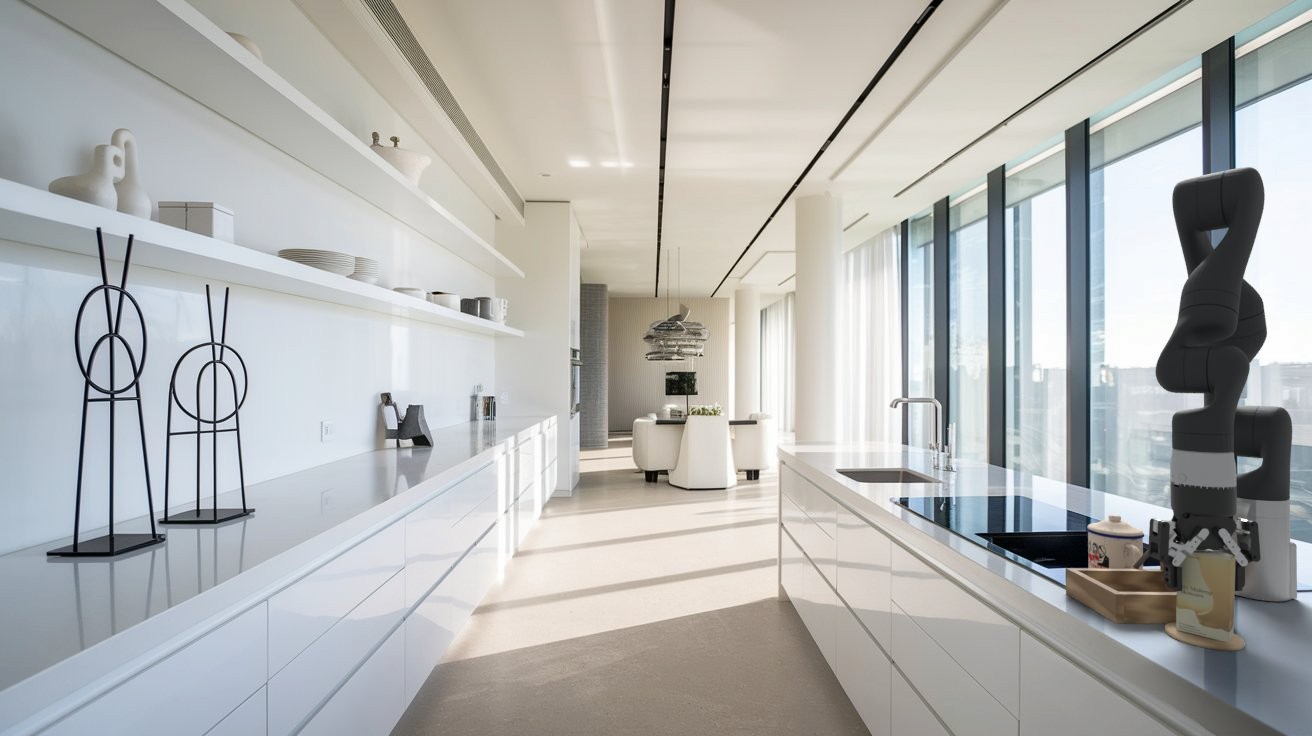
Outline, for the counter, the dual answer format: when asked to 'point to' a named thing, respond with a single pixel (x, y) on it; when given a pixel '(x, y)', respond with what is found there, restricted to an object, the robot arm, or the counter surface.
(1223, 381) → the robot arm
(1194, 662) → the counter surface
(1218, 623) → the skincare box
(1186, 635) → the cork mat
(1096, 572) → the cold frame
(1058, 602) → the counter surface
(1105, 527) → the teacup with lid
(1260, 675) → the counter surface
